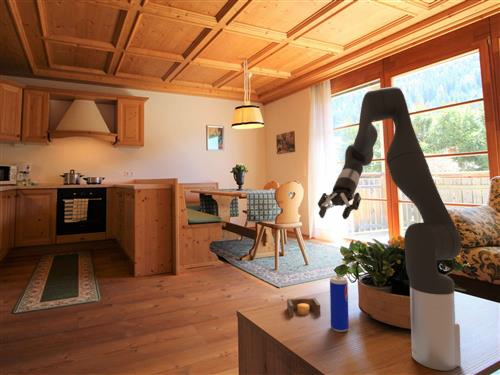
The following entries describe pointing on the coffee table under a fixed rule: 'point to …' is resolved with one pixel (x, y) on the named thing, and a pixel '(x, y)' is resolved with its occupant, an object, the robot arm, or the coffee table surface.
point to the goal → (311, 302)
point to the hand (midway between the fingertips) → (332, 217)
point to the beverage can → (339, 303)
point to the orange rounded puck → (303, 309)
